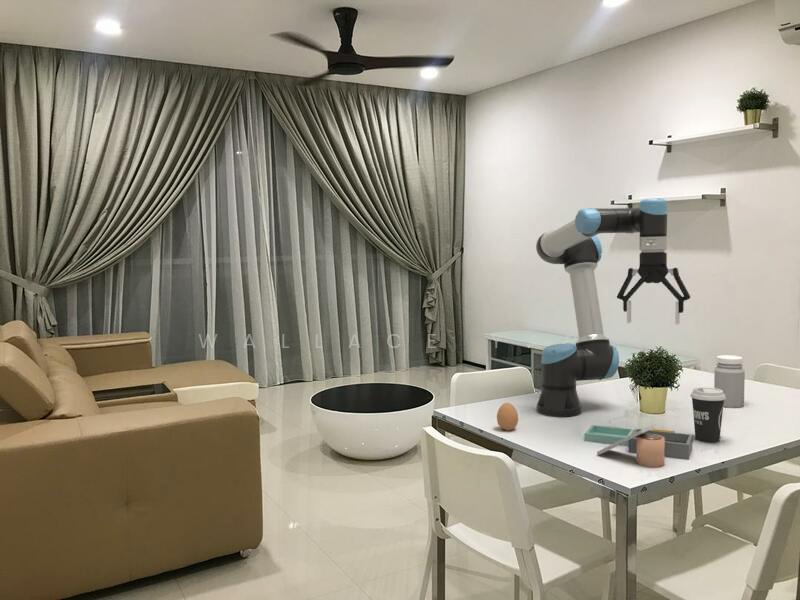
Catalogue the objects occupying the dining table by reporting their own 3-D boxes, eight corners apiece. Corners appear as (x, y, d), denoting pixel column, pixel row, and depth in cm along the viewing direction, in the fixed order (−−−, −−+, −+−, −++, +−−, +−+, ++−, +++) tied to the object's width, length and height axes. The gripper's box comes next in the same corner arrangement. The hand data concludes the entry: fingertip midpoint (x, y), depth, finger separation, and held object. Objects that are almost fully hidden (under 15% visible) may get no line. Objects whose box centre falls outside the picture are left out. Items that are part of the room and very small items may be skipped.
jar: (750, 408, 233) (751, 357, 232) (729, 411, 230) (730, 360, 229) (727, 402, 243) (728, 354, 241) (707, 405, 239) (708, 356, 238)
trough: (584, 441, 198) (584, 433, 198) (592, 432, 207) (592, 424, 207) (628, 446, 192) (628, 438, 192) (634, 437, 201) (634, 429, 201)
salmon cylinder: (634, 465, 176) (634, 438, 175) (638, 457, 182) (638, 432, 181) (662, 468, 172) (662, 441, 172) (666, 460, 179) (666, 435, 178)
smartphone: (610, 449, 189) (608, 446, 190) (654, 427, 179) (652, 424, 180) (597, 455, 184) (595, 452, 184) (642, 433, 174) (640, 430, 175)
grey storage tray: (628, 452, 187) (628, 436, 187) (635, 441, 197) (635, 426, 196) (688, 459, 180) (689, 442, 179) (692, 448, 189) (692, 432, 189)
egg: (492, 430, 212) (492, 402, 211) (506, 426, 216) (506, 399, 216) (508, 434, 207) (508, 406, 206) (522, 430, 211) (522, 402, 211)
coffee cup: (695, 433, 204) (695, 385, 202) (728, 438, 198) (729, 389, 196) (685, 441, 196) (686, 391, 195) (720, 446, 190) (721, 395, 189)
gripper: (606, 252, 199) (607, 323, 200) (697, 250, 186) (697, 325, 188) (612, 252, 205) (612, 320, 207) (700, 250, 193) (700, 323, 194)
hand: (652, 323), depth 197 cm, fingers open, 13 cm apart
